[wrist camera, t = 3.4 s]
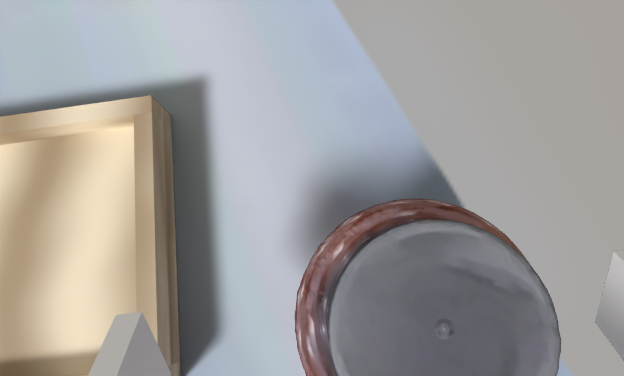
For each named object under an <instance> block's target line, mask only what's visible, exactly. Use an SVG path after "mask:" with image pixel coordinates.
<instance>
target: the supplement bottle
mask: <svg viewBox="0 0 624 376" xmlns="http://www.w3.org/2000/svg"><path fill="white" fill-rule="evenodd" d="M295 332H296V339H297V348H298V352H299V355H300V359H301V362H302V366H303V368H304V370H305V373H306V376H557V372H558V369H559V357H560V352H561V338H560V333H559V328H558V320H557V316H556V312H555V309H554V305H553V302H552V299H551V297H550V295H549V293H548V291H547V289H546V287H545V286H544V284H543V283H542V281H541V279H540V277H539V276H538V275H537V273H536V272H535V271H534V269H533V268H532V267H531V265H530V264H529V262H528V261H527V260H526V258H525V257H524V255H523V254H522V253H521V251H520V250H519V249H518V248H517V247H516V245H515V244H514V243H513V242H512V241H511V240H510V239H509V238H508V237H507V236H506V235H505V234H504V233H503V232H501V231H500V230H499V229H498V228H496V227H495V226H494V225H492V224H491V223H489V222H488V221H486V220H485V219H483V218H482V217H480V216H478V215H476V214H475V213H473V212H471V211H469V210H466V209H464V208H461V207H458V206H455V205H452V204H449V203H445V202H442V201H436V200H428V199H401V200H394V201H390V202H387V203H383V204H378V205H375V206H373V207H370V208H368V209H366V210H363V211H361V212H359V213H357V214H355V215H354V216H352V217H350V218H348V219H347V220H345V221H344V222H343V223H341V224H340V225H339V226H338V227H337V228H336V229H335V230H334V231H333V232H332V233H331V234H330V235H329V236H328V237H327V238H326V239H325V241H324V242H323V243H321V245H320V246H319V247H318V249H317V251H316V252H315V254H314V255H313V257H312V258H311V260H310V262H309V265H308V267H307V269H306V270H305V273H304V275H303V278H302V281H301V284H300V287H299V290H298V292H297V302H296V311H295Z"/></svg>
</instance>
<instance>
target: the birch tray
mask: <svg viewBox="0 0 624 376" xmlns="http://www.w3.org/2000/svg"><path fill="white" fill-rule="evenodd" d="M135 312H142V313H143V315H144V317H145V319H146V321H147V323H148V325H149V328H150V330H151V332H152V334H153V336H154V338H155V340H156V342H157V345H158V347H159V349H160V351H161V353H162V355H163V357H164V359H165V361H166V364H167V366H168V368H169V370H170V372H171V376H181V374H180V347H179V319H178V291H177V264H176V236H175V209H174V181H173V153H172V126H171V114H170V113H169V112H168V111H167V110H166V109H165V108H164V107H163V106H162V105H161V104H160V103H159V102H158V101H157V100H156V99H155V98H154V97H153V96H152V95H149V96H142V97H135V98H128V99H121V100H114V101H107V102H100V103H93V104H86V105H79V106H72V107H65V108H58V109H51V110H44V111H37V112H30V113H23V114H16V115H9V116H2V117H0V376H88V374H89V372H90V370H91V368H92V366H93V364H94V361H95V359H96V357H97V355H98V353H99V350H100V348H101V346H102V344H103V342H104V340H105V337H106V335H107V333H108V331H109V329H110V326H111V324H112V322H113V320H114V318H115V316H116V315H119V314H127V313H135Z"/></svg>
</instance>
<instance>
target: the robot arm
mask: <svg viewBox="0 0 624 376" xmlns="http://www.w3.org/2000/svg"><path fill="white" fill-rule="evenodd" d="M595 323H596V324H597V325H598V327H599V328H600V329H601V331H602V332H603V333H604V335H605V336H606V337H607V339H608V340H609V342H610V343H611V344H612V346H613V347H614V348H615V349H616V351H617V352H618V354H619V355H620V356H621V358H622V359H623V360H624V250H621V251H614V252H613V256H612V260H611V263H610V267H609V271H608V275H607V279H606V282H605V286H604V290H603V294H602V298H601V302H600V306H599V309H598V313H597V317H596V321H595ZM88 376H171V372H170V370H169V368H168V366H167V364H166V361H165V359H164V357H163V355H162V353H161V351H160V349H159V347H158V345H157V342H156V340H155V338H154V336H153V334H152V332H151V330H150V328H149V325H148V323H147V321H146V319H145V317H144V315H143V313H142V312H135V313H127V314H119V315H116V316H115V318H114V320H113V322H112V324H111V326H110V329H109V331H108V333H107V335H106V337H105V340H104V342H103V344H102V346H101V348H100V350H99V353H98V355H97V357H96V359H95V361H94V364H93V366H92V368H91V370H90V372H89V374H88Z"/></svg>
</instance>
